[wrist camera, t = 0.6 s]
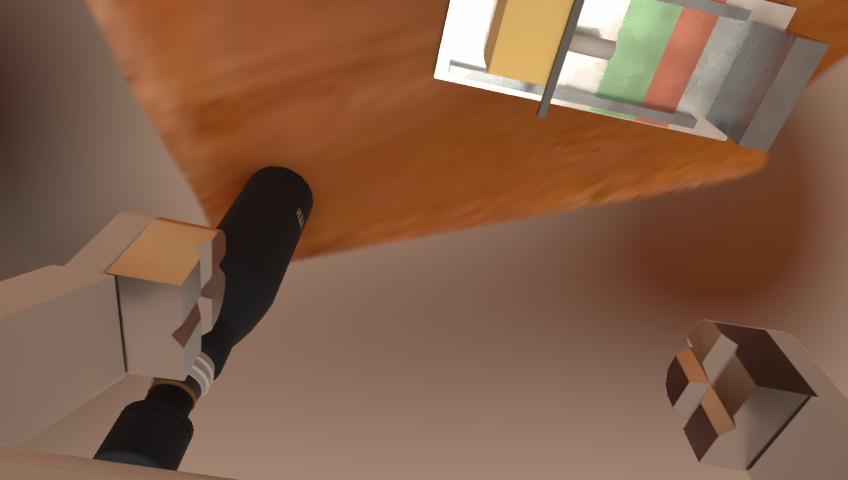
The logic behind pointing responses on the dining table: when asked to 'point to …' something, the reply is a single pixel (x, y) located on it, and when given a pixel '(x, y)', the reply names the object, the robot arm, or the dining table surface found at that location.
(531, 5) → the block
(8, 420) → the robot arm
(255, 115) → the dining table surface
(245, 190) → the wine bottle
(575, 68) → the track
